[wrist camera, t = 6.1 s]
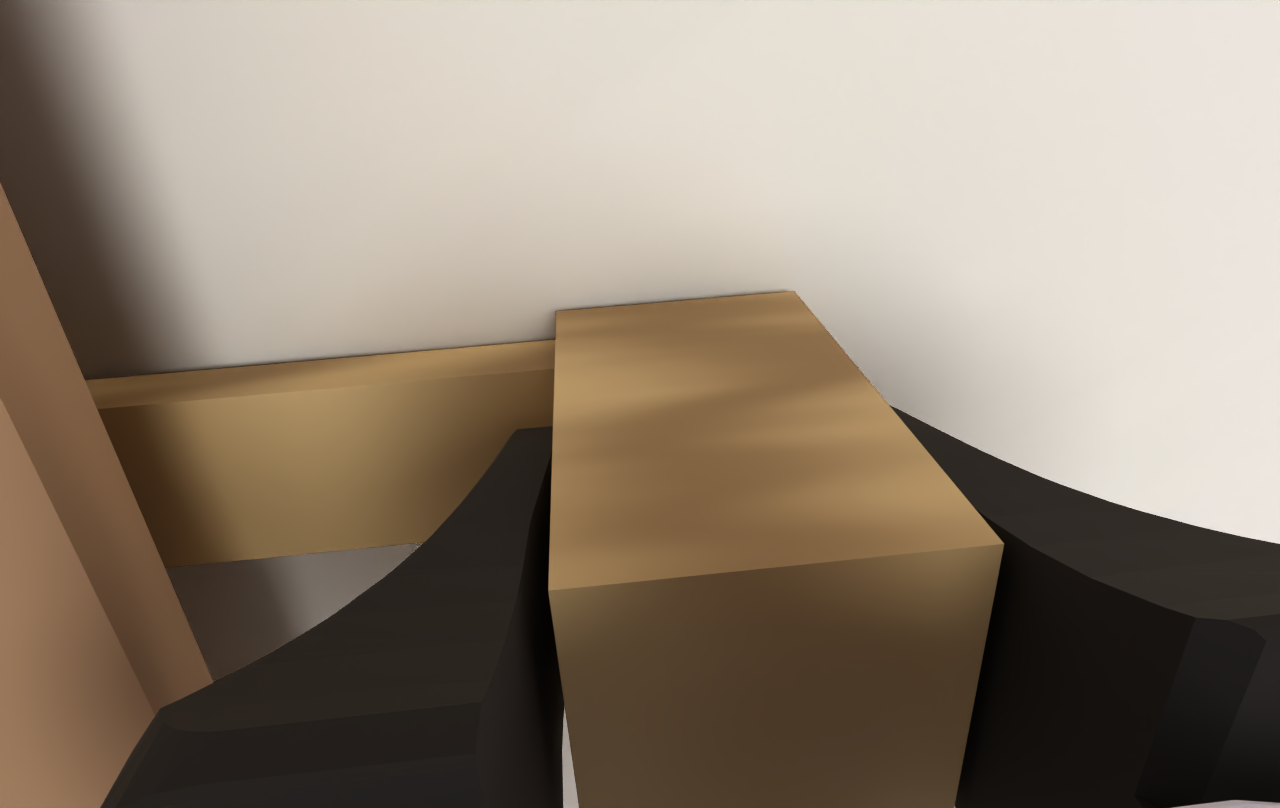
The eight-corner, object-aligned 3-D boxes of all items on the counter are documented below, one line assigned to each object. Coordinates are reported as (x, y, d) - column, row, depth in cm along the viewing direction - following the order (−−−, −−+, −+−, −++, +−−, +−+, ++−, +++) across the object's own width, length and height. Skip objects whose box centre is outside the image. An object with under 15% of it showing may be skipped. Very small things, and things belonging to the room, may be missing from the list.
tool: (794, 290, 13) (1003, 544, 7) (787, 491, 15) (948, 834, 9) (-273, 381, 12) (-1149, 765, 6) (-143, 582, 14) (-709, 1037, 8)
